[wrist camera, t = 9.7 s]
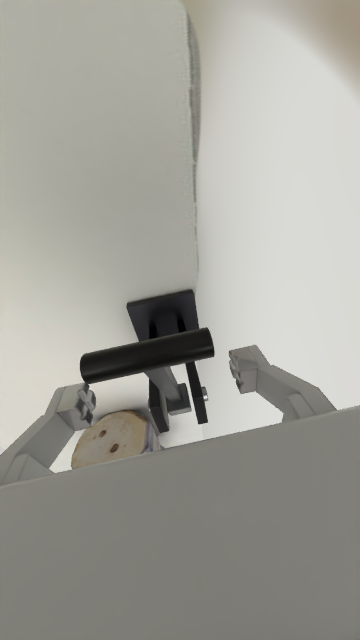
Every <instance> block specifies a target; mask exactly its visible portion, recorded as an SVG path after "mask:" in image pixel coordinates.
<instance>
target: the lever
mask: <svg viewBox="0 0 360 640" xmlns="http://www.w3.org/2000/svg"><path fill="white" fill-rule="evenodd" d="M211 357H214V346H213V341H212V337H211V334H210V331H209V329H208V328H207V327H206V328H201V329H196V330H192V331H187V332H182V333H178V334H173V335H169V336H164V337H159V338H155V339H150V340H146V341H141V342H136V343H132V344H127V345H123V346H118V347H113V348H109V349H104V350H100V351H95V352H90V353H86V354H84V355H83V356H82V357H81V360H80V372H81V376H82V378H83V380H84V381H85V382H86V383H87V384H92V383H97V382H101V381H106V380H110V379H115V378H119V377H124V376H129V375H133V374H138V373H142V372H144V373H145V374H146V375H147V376H148V377H149V378H150V380H151V381H152V382H153V383H154V384H155V385H156V386H157V387H158V388H159V390H160V391H161V392H162V393H163V394H164V395H165V399H166V406H167V412H168V413H169V414H170V415H172V416H173V415H177V414H182V413H186V412H191V411H192V410H191V405H190V400H189V395H188V390H187V387H186V384H185V383H182V384H177V382H176V379H175V377H174V375H173V373H172V371H171V369H170V366H174V365H179V364H183V363H188V362H193V361H197V360H201V359H206V358H211Z"/></svg>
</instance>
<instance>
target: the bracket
mask: <svg viewBox="0 0 360 640" xmlns="http://www.w3.org/2000/svg"><path fill="white" fill-rule="evenodd" d="M127 310H128V313H129V316H130V318H131V321H132V324H133V326H134V329H135V332H136V334H137V337H138V340H139V342H141V341H146V340H150V339H155V338H159V337H164V336H169V335H173V334H178V333H182V332H187V331H192V330H196V329H199V324H198V318H197V311H196V304H195V297H194V292H193V290H188V291H183V292H178V293H174V294H169V295H164V296H160V297H155V298H150V299H146V300H141V301H136V302H132V303H127ZM185 364H186V369H187V374H188V379H189V384H190V388H191V393H192V398H193V403H194V407H195V411H196V416H197V420H198V424H203V423H207V422H208V419H207V414H206V408H205V402H204V401H208V396H207V391H206V388H205V387H201V385H200V381H199V377H198V373H197V370H196V366H195V362H194V361H193V362H188V363H185ZM148 408H149V412H150V413H151V414H152V416H153V418H154V420H155V423H156V425H157V427H158V429H159V432H160V433H162V432H167V431H169V420H168V412H167V406H166V399H165V395H164V394H163V393H162V392H161V391H160V390H159V388H158V387H157V386H156V385H155V384H154V383H153V382H152V381H151V380H150V378H149V399H148Z"/></svg>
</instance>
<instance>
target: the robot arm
mask: <svg viewBox="0 0 360 640" xmlns="http://www.w3.org/2000/svg"><path fill="white" fill-rule="evenodd" d="M229 357H230V359H231V360H230V361H229V364H230V369H231V372H232V375H233V377H234V378H235V379H236V384H237V387H238V389H239V391H240V393H241V394H244V393H248V392H254V391H256V392H257V393H258V394H260V395H261V396H262V397H264V398H265V399H266V400H267V401H269V402H270V403H271V404H273V405H274V406H275V407H276V408H278V409H279V410H280V411H282V412H283V413H284V414H283V419H282V423H279V424H274V425H269V426H265V427H261V428H256V429H252V430H247V431H243V432H238V433H234V434H229V435H225V436H220V437H216V438H211V439H207V440H202V441H198V442H193V443H189V444H184V445H180V446H175V447H171V448H166V449H162V450H157V451H153V452H148V453H144V454H140V455H135V456H131V457H126V458H122V459H117V460H113V461H108V462H104V463H99V464H95V465H90V466H86V467H81V468H77V469H72V470H68V471H63V472H59V473H54V472H52V471H51V470H50V469H49V468H50V466H51V465H52V463H53V462H54V461H55V459H56V458H57V456H58V455H59V454H60V452H61V451H62V449H63V448H64V447H65V445H66V444H67V442H68V441H69V440H70V438H71V437H72V435H73V434H74V433H75V432H74V431H78V430H82V429H85V428H89V427H90V426H91V422H92V418H93V415H92V413H91V412H92V411H93V410H94V409H95V405H96V397H95V394H94V392H93V391H91V390H89V385H88V384H87V383H80V384H75V385H70V386H65V387H60V388H58V389H57V390H56V391H55V393H54V395H53V397H52V399H51V402H50V404H49V406H48V408H47V410H46V412H45V415H43V416H41V417H40V418H39V419H38V420H37V421H36V422H34V423H33V424H32V425H31V426H30V427H29V428H28V429H27V430H26V431H25V432H24V433H23V434H22V435H21V436H20V437H19V438H18V439H17V440H16V441H15V442H14V443H13V444H12V445H10V446H9V447H8V448H7V449H6V450H5V451H4V452H3V453H2V454H1V455H0V640H360V405H359V406H355V407H350V408H346V409H342V410H337V409H336V408H335V407H334V406H333V405H332V404H331V402H330V401H329V400H328V399H327V398H326V396H325V395H324V394H323V393H322V392H321V391H320V389H319V388H318V387H316V386H314V385H311V384H310V383H308V382H306V381H304V380H302V379H300V378H298V377H296V376H294V375H292V374H290V373H288V372H286V371H284V370H282V369H280V368H278V367H276V366H274V365H270V364H269V362H268V361H267V360H266V358H265V357H264V355H263V354H262V352H261V351H260V349H259V348H258V347H257V346H256V345H252V346H248V347H244V348H239V349H235V350H231V351H229Z"/></svg>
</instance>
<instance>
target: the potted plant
mask: <svg viewBox="0 0 360 640" xmlns="http://www.w3.org/2000/svg"><path fill="white" fill-rule="evenodd" d="M162 449H165V448H164V447H162V446H161V445H160V444H159V441H158V439H157V436H156V434H155V431H154V429H153V426H152V423H151V422H150V420H149V419H148V418H146V417H145V416H143V415H142V414H140V413H138V412H136V411H127V410H124V411H119V412H115V413H112V414H108V415H106V416H105V417H104V418H102V419H101V420H99V421H98V422H97V423H96V424H95V425H93V426H90V427H89V428H87V429H86V430H85V432H84V433H83V434H82V436H81V437H80V439H79V441H78V443H77V445H76V448H75V450H74V453H73V455H72V461H71V467H72V469H77V468H81V467H86V466H90V465H95V464H99V463H104V462H108V461H113V460H117V459H122V458H126V457H131V456H135V455H140V454H144V453H148V452H153V451H157V450H162Z"/></svg>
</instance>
